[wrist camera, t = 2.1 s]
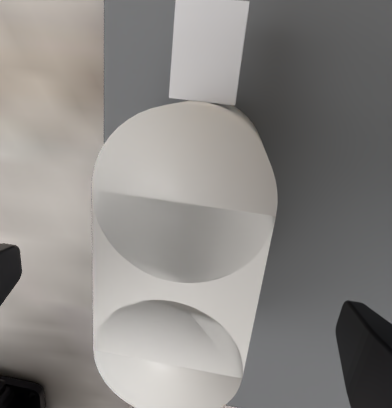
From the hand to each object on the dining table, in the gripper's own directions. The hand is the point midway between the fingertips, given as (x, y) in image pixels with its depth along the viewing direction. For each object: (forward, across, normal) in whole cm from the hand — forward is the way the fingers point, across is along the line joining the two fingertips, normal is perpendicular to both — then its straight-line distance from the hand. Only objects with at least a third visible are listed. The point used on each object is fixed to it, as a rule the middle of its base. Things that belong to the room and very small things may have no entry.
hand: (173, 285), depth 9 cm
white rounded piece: (+5, 0, -1) cm, 5 cm away
